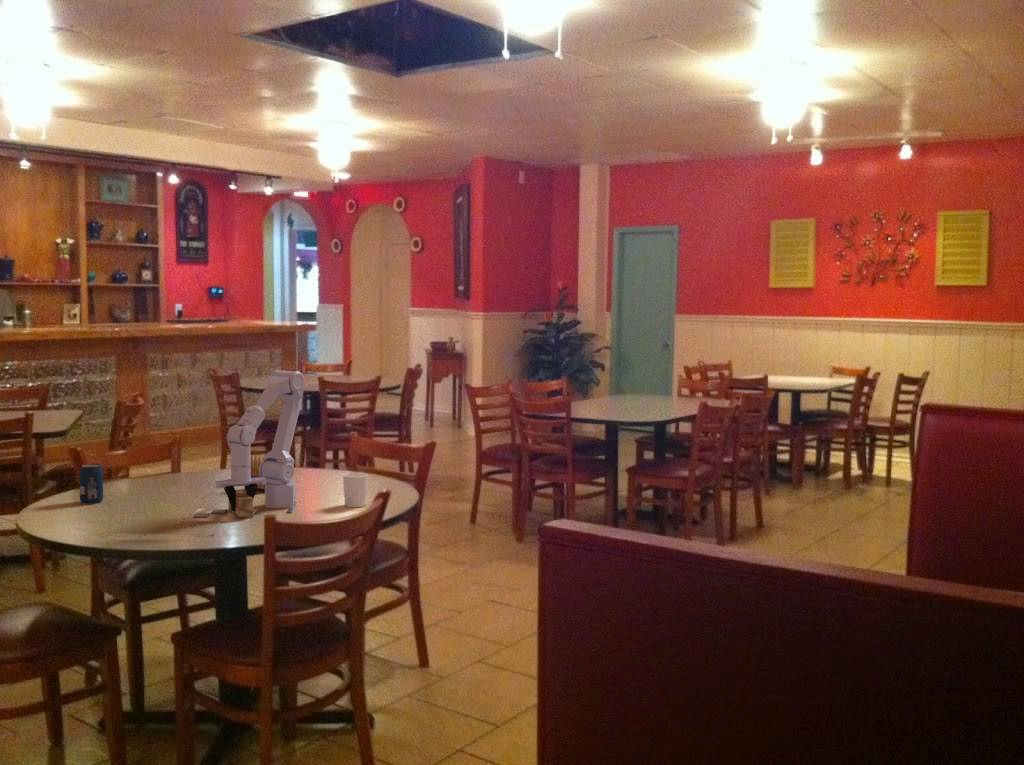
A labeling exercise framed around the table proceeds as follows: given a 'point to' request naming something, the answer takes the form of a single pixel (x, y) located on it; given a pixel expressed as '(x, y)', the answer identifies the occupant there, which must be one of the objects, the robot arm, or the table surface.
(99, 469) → the soda can
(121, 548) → the table surface
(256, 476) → the ammunition clip
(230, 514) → the birch board
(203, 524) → the table surface
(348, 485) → the white cup
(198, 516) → the charcoal chip
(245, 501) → the block
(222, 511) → the charcoal chip
